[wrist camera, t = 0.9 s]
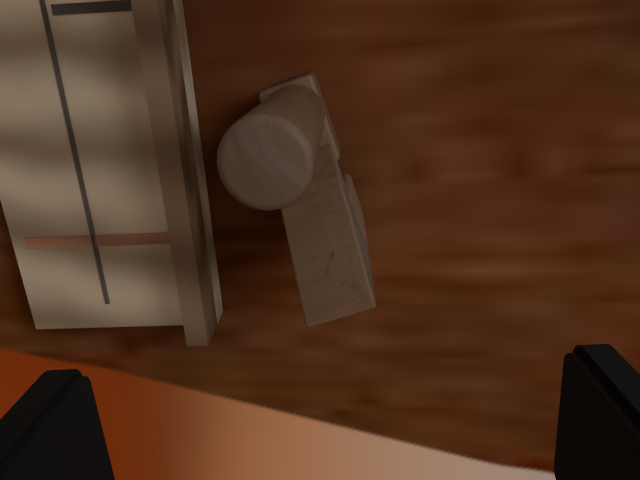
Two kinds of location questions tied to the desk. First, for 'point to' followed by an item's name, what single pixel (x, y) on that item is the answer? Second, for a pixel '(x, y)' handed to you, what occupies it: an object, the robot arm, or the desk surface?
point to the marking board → (105, 166)
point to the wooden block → (303, 195)
